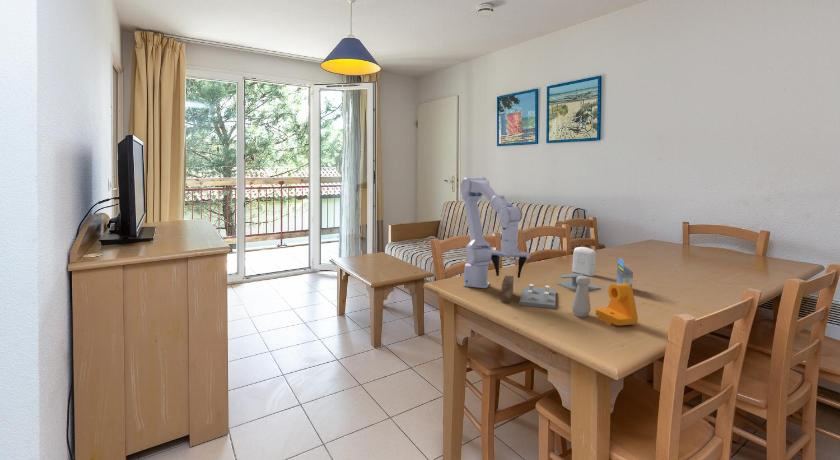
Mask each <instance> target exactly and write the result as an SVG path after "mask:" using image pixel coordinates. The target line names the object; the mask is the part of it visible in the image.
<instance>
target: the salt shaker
mask: <svg viewBox="0 0 840 460" xmlns="http://www.w3.org/2000/svg"><path fill="white" fill-rule="evenodd" d="M576 283H577V284H578V286H577V290H576V291H575V294H574V298H573V302H572V305H571V311H572V312H573V315H574V316H576V317H577V318H587V317H589V315H590V313H591V301H590V299H591V298H590V290H588V285H589V284H591V278H590V276H587V275H584V276H578V277H577V278H576Z"/></svg>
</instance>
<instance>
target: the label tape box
mask: <svg viewBox="0 0 840 460" xmlns="http://www.w3.org/2000/svg"><path fill="white" fill-rule="evenodd" d="M616 272H617V274H616V275H617V277H616V284H624V283H627V284H629V285H630V286H631V287H632V288H633V281H634V280H633V278H634V277H633V276H634V272H633V271H632V270H631V269H630V268H628V267H627V266H625V261H624V260H623V259H622V258H621V257H618V261H617V271H616Z"/></svg>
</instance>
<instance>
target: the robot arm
mask: <svg viewBox="0 0 840 460" xmlns="http://www.w3.org/2000/svg"><path fill="white" fill-rule="evenodd" d="M460 192H461V199H462V200H463V203H464V208H465V209H464V210H465V215H466V221H467V226H468V233H469V240H470V241H469V243H467V245H466V246H465V250H466V251H465V252H466V253H465V259H466V261H467V262H466V263H465V265H464V270H463V287H467V288H468V287H469V288H470V287H471V288H482V289H487V288H488V287H489V286H490V283H491V282H489V281H488V277H489V265H490V263H491V262H492V264H493V266H494V270H495V276H496V277H498V276H499V275H500V257H503V258H518V267H517V268H518V269H517V278H518V279H519V278H521V273H522V269H523V267H524V265H525V263H526V261H527V259H528V260H529V259H530V258H531V257H530V255H531V253H530V252H529V251H527V252H526V251H518V241H519V222H520V221H522V219H523V212H522V209H521V208H520V206H517V205H512V204H513V203H512V202H510V201H508V199H507V198H506V197H505V195H504V194H497V192H496V191H495V190H494V189H493V188H492V187H491V185H490V181H489V180H488V179H487V178H486V177H485V176H484V177H483V176H482V177H467V176H466V177H464V178H462V180H461V183H460ZM482 197H485V198H486V199H487V200H488V201H490V203H489V205H490V207H492V209H493V210H494V212H496V213H497V214H498V218H499V221H500V227H501V246H500V247H501V249H492V248H491V245H490V243H489V242H488V241H487V240H486V239H484V233H483V232H484V231H483V227H482V221H481V216H480V211H479V205H478V202H479V200H480V199H482Z"/></svg>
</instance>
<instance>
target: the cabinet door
mask: <svg viewBox="0 0 840 460" xmlns="http://www.w3.org/2000/svg"><path fill="white" fill-rule="evenodd" d="M500 291H501V296H500V297H501V298H500V300H501V301H500V302H501V303H508V304H510V302H511V300H512V297H513V295H514V276H513V275H505V276H504V278H503V279H502V281H501V290H500Z"/></svg>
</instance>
